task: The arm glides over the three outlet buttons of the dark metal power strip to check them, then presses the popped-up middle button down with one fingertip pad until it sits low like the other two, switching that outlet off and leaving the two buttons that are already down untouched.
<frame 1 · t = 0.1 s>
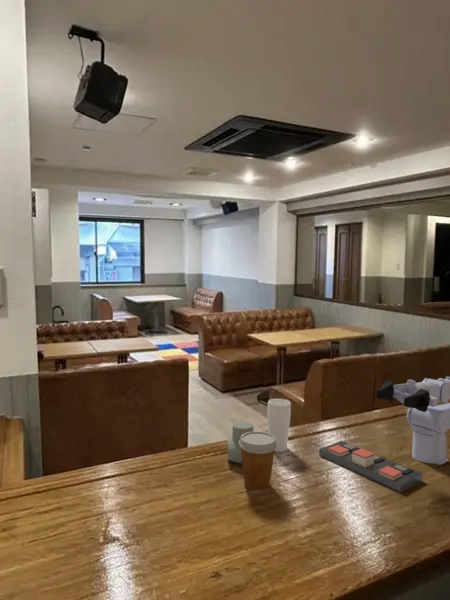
hand: (391, 398, 111), 22 cm above the bar counter, tool horizontal, fingers open, 7 cm apart
air freshener: (242, 460, 123), on the bar counter
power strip: (367, 471, 117), on the bar counter
button c: (390, 476, 109), point 2 cm above the bar counter, slide at 1.8 cm
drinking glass: (277, 452, 129), on the bar counter
button a: (338, 453, 122), point 2 cm above the bar counter, slide at 1.8 cm
disposable coffee cup: (256, 485, 109), on the bar counter
button b: (363, 457, 116), point 4 cm above the bar counter, slide at 0.0 cm
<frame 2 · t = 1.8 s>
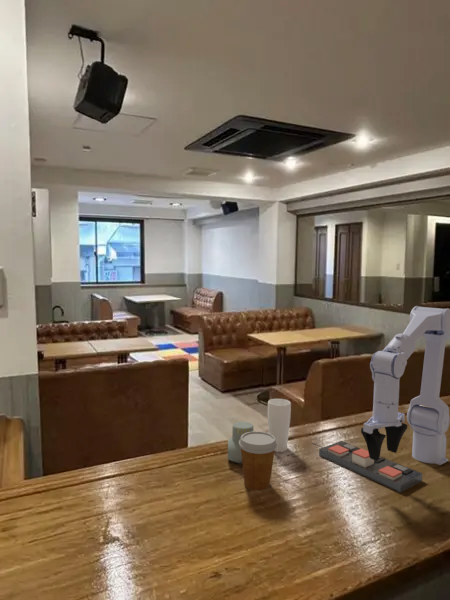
hand: (383, 455, 107), 9 cm above the bar counter, tool pointing down, fingers open, 7 cm apart
nothing on the bar counter moved.
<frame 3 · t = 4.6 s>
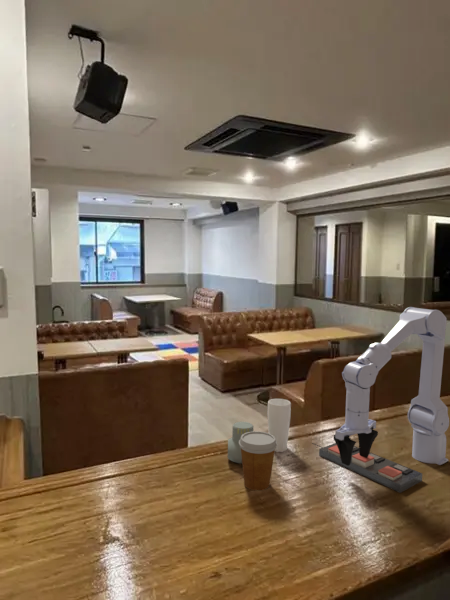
hand: (354, 460, 113), 5 cm above the bar counter, tool pointing down, fingers open, 7 cm apart
button b: (362, 461, 116), point 3 cm above the bar counter, slide at 1.0 cm, touching gripper
everything else where it was.
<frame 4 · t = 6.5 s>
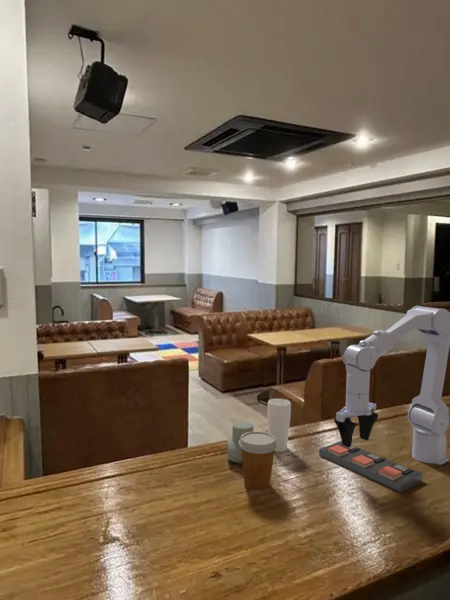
hand: (355, 442, 114), 9 cm above the bar counter, tool pointing down, fingers open, 7 cm apart
button b: (362, 464, 116), point 2 cm above the bar counter, slide at 1.8 cm
everything else where it was.
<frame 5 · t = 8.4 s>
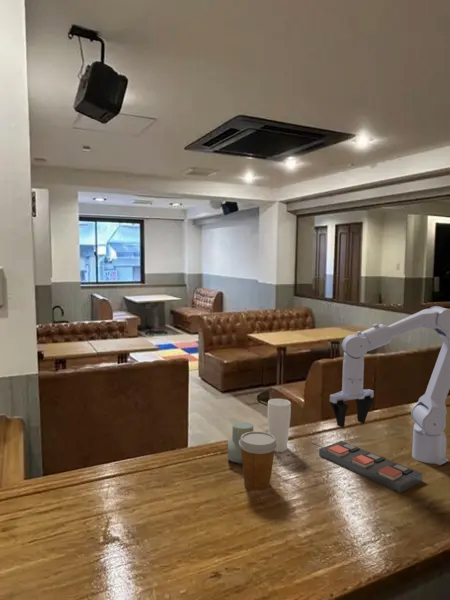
hand: (350, 424, 125), 10 cm above the bar counter, tool pointing down, fingers open, 7 cm apart
nothing on the bar counter moved.
at the end: button b slide at 1.8 cm; button a slide at 1.8 cm; button c slide at 1.8 cm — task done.
